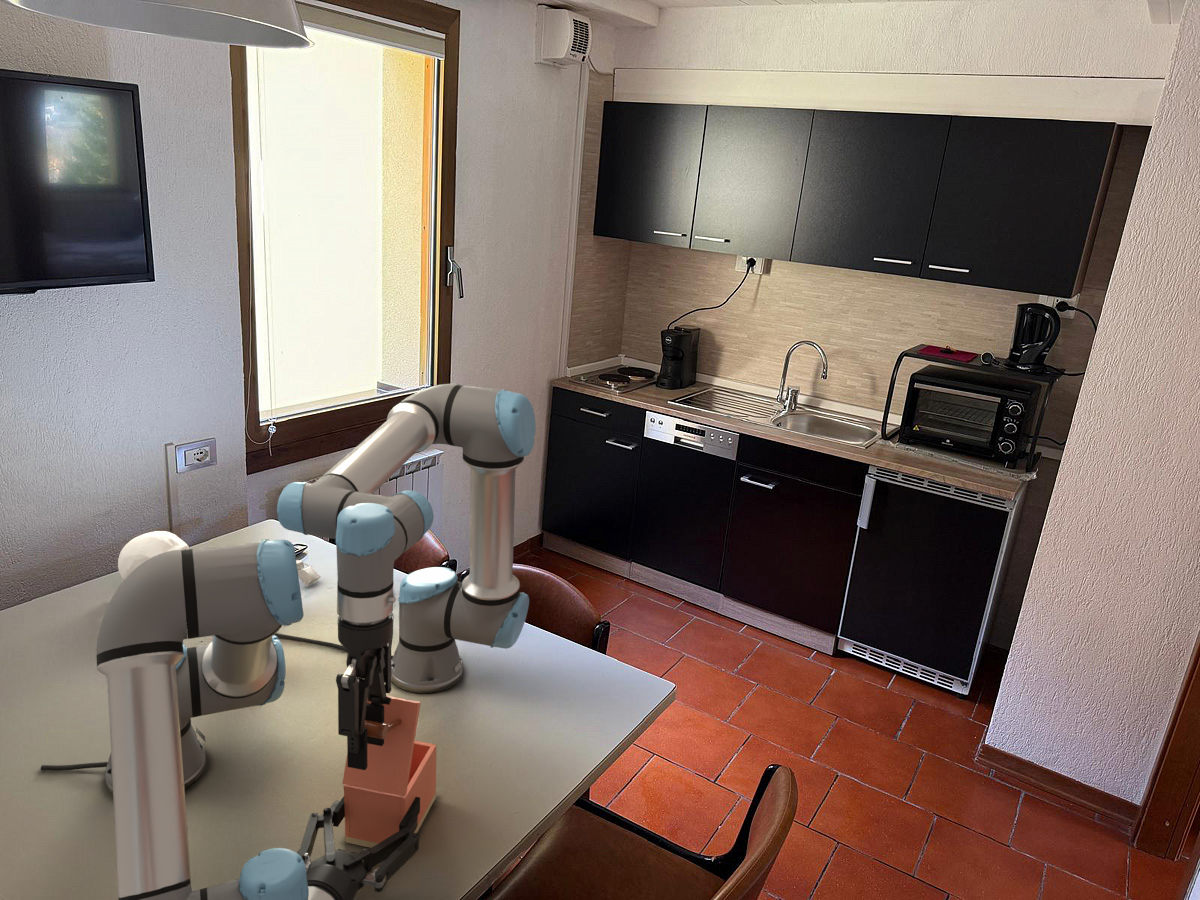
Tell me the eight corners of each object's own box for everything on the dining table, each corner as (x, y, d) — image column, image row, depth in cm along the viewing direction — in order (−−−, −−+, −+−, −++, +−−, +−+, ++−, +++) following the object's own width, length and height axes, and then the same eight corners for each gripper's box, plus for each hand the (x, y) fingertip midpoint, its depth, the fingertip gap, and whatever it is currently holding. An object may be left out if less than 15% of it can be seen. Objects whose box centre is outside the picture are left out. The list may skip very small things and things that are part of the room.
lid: (359, 690, 133) (334, 701, 125) (420, 702, 132) (399, 713, 123) (345, 782, 132) (318, 799, 124) (406, 794, 131) (384, 812, 122)
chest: (380, 786, 148) (379, 733, 144) (435, 797, 146) (436, 744, 143) (345, 842, 135) (343, 786, 132) (405, 854, 134) (405, 798, 130)
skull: (182, 617, 196) (179, 553, 192) (106, 597, 202) (101, 535, 198) (223, 594, 209) (221, 534, 205) (149, 577, 214) (146, 517, 210)
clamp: (253, 565, 223) (254, 542, 221) (265, 560, 226) (266, 537, 224) (309, 593, 215) (310, 569, 213) (320, 588, 218) (321, 564, 216)
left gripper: (241, 910, 118) (320, 803, 139) (395, 945, 115) (452, 830, 136) (239, 867, 116) (319, 765, 137) (396, 901, 113) (454, 791, 134)
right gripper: (362, 650, 110) (362, 800, 117) (416, 589, 127) (414, 723, 134) (308, 641, 111) (312, 790, 118) (368, 582, 128) (369, 715, 135)
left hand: (385, 797), depth 137 cm, fingers closed on chest, 10 cm apart
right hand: (366, 754), depth 126 cm, fingers open, 5 cm apart
